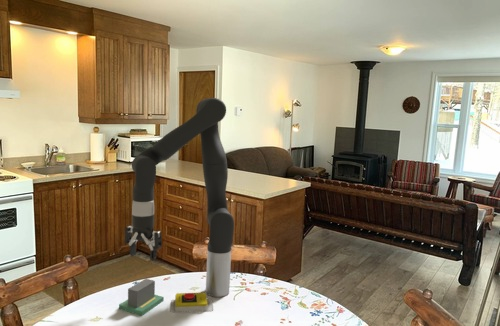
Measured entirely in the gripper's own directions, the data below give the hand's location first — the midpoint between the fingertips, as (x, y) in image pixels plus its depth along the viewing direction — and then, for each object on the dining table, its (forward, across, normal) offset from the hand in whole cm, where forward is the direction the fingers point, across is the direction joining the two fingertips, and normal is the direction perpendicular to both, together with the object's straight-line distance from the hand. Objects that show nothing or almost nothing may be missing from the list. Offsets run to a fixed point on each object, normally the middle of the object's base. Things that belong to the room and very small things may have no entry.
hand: (142, 257), depth 132 cm
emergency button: (+18, -16, -8) cm, 26 cm away
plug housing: (+16, 0, 0) cm, 16 cm away
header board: (+18, 0, 0) cm, 18 cm away
